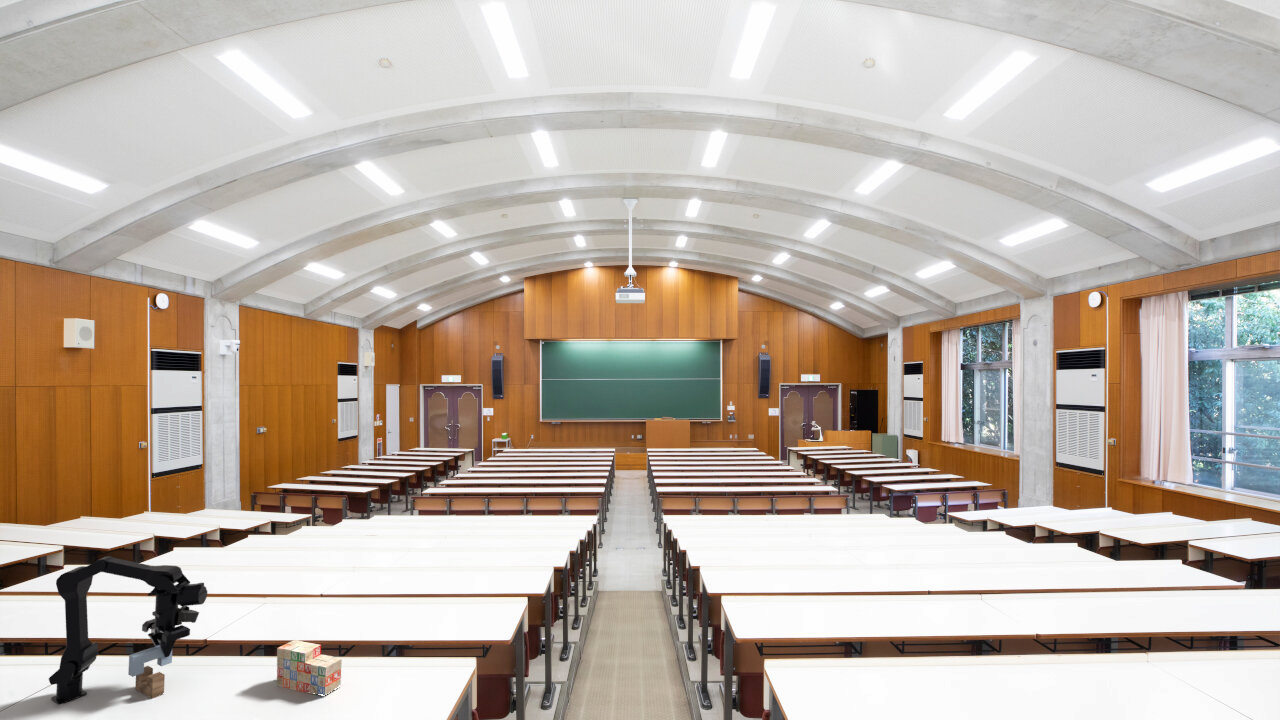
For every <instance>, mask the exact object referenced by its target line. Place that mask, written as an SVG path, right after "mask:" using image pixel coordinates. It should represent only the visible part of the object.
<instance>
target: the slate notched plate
mask: <svg viewBox="0 0 1280 720" xmlns="http://www.w3.org/2000/svg"><path fill="white" fill-rule="evenodd" d="M154 660H155V661H156V660H157V661H156V664H157V665H158V666H160V667H164V666H167V665H169V664H172V663H173V650H172V651H171V653H170V656H168V657H165V656H164V654H163V652H162V649H161V647H160V645H158V646H155V645H154V646H152V647H150V648H147V649H146V648H145V649H143V650H140V651H138V652H134V653H131V654H129V656H128V675H129V676H130V677H132V678H134V677H136V675H139V674H142V673H144V667H145V664H146V663H148V662H152V661H154Z"/></svg>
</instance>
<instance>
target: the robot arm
mask: <svg viewBox="0 0 1280 720" xmlns="http://www.w3.org/2000/svg"><path fill="white" fill-rule="evenodd" d="M99 573H105V574H110V575H115V576H120V577H123V578H124V577H125V578H131V579H135V580H140V581H142V582H144V583H145V584H147V585H148V586H150V587H153V589H152V590H151V591H150V592H149V593H147V596H148V597H150V596H151V597H153V596H155V604H154V605H155V608H154V611H152V616H153V617H154V618H151V619H150V620H146V621H145V622H143V623H142V625H141V631H142V632H144V633H148V632H149V631H150V630H151V631H150V633H148V634H147V636H148V637H149V638H150V641H151V642H152V644H153V645H154V647H155V646H158V645H160V647H161V649H162V652H163V654H164V656H165V657H168V656H170V653H171V651H172V652H173V647H174V645H175V644H176V641H177V640H180V639H183V638H186V637H189V636H190V635H191V628H189V627H188V626H185V625H183V623H193V624H194V623H196V621H197V620H198V617H199V614H200V611H197V610H193V609H190V606H199V605H201V606H202V605H203V604H204V603H205V602H206V600H207V597H208V590H207V587H206V586H205V583H204V582H199V583H191V581H190V580H189V579H188V578H187V577H186V575H185V574H184V573H183V571H182V568H181V567H180V566H177V565H170V564H169V565H167V564H166V565H165V564H164V565H163V564H162V565H149V564H144V563H141V562H136V561H131V560H125V559H121V558H116V557H114V556H109V555H108V556H104V557H102V558H100V559H97V560H95V562H92V563H90V564H89V565H87V566H84V565H83V566H82V565H81V566H77V567H76V568H74V569H70V570H68V571H67V572H66V571H65V572H64V573H62V574H60V575H59V577H57V579H56V582H55V585H56V588H57V589H56V590H57V592H58V595H59V596H60V597H61V598H62V599H63V600H64V611H65V612H64V614H65V636H66V637H65V638H66V646H65V649H64V650H63V652H62V653H63V654H62V655H61V657H60V663H59V669H58V670H56V671H55V672H54V673H53V674H52V675H51V676H49V678H48V681H49V683H50V686H51V685H56V689H55V690H56V692H55V693H56V694H55V695H54V696H51V697H50V699H51V701H53V702H54V703H56V704H57V705H60V704H64V703H67V702H69V701H72V700H75V699H77V698H80V697H83V696H86V695H88V694H87V691H86V690H84V688H83V679H84V678H83V676H84V672H86V671H88V670H89V669H90V667H91V665H93V663H94V662H95V661H96V659H97V656H98V655H99V654H100V653H99V650H98V647H99V643H98V642H94V643H93V642H91V641H90V639H89V622H88V603H87V602H88V601H87V600H88V598H87V595H88V593H89V590H90V588H91V587H92V584H93V577H94V576H96V575H97V574H99ZM176 583H177V584H176ZM179 606H180V607H179Z"/></svg>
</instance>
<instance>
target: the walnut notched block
mask: <svg viewBox="0 0 1280 720" xmlns="http://www.w3.org/2000/svg"><path fill="white" fill-rule="evenodd" d="M165 675H166V674H164V673H162V671H161V672H160V671H157V672H154V668H153V667H151V666H149V665H146V666H145V665H144V673H142V674H139V675H136V676H135V690H136V691H137V692H140V693H141V694H143V695H145V696H147V697H148V696H149V697H148V698H150V699H155V698H158V697H160V696H162V695H161V694H163V693H164V694H165V679H166V678H165V677H166V676H165ZM164 694H163V695H164ZM159 695H160V696H159ZM157 696H158V697H157Z"/></svg>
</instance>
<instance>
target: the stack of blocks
mask: <svg viewBox="0 0 1280 720" xmlns="http://www.w3.org/2000/svg"><path fill="white" fill-rule="evenodd" d="M276 651H277V653H276V654H277V655H276V686H278V685H279V687H283V688H286V689H289V690H293V691H298V692H303V693H306V692H310V693H309V694H311V693H315V694H323V695H326V694H328V693H329V692H331V691H333V690H334V689H335V688H337V687H338V686H339V685H341V683H342V680H341V678H342V661H343V660H342V658H340V657H335V656H332V655H326V654H322V645H321V644H317V643H312V642H307V641H306V642H305V641H301V640H298V639H293V640H292V641H289V642H287V643H285V644H283V645H281V646H279V647H277V649H276Z"/></svg>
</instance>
